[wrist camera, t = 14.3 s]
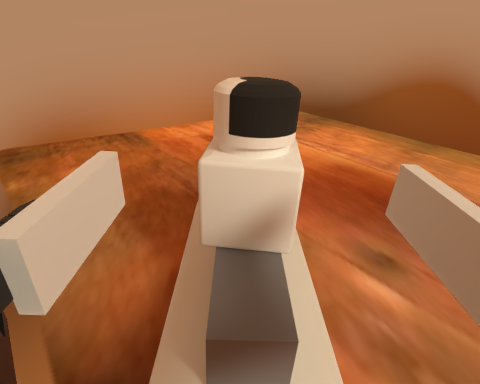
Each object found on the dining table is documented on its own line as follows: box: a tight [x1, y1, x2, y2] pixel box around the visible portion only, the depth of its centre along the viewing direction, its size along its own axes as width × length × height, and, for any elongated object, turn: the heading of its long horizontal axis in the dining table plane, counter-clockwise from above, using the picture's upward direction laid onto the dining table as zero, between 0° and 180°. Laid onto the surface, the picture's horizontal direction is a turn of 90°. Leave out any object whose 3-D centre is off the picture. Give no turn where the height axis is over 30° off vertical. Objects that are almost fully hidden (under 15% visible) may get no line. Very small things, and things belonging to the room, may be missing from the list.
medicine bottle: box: [198, 77, 304, 254], centre depth 22 cm, size 7×7×12 cm
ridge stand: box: [149, 201, 343, 384], centre depth 27 cm, size 24×12×6 cm, turn 0°
